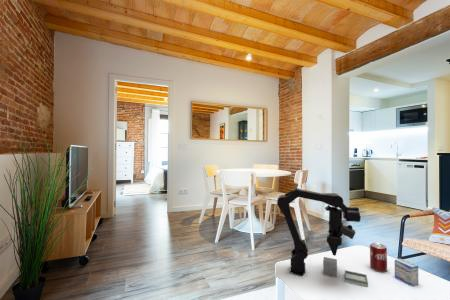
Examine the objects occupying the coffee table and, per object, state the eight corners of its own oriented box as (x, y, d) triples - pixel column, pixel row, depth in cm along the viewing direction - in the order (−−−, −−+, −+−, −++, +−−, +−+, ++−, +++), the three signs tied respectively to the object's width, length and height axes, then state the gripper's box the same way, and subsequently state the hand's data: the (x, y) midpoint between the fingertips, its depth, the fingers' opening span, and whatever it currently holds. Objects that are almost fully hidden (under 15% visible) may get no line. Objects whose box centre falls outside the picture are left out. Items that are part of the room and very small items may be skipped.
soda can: (390, 270, 114) (390, 247, 114) (380, 273, 112) (380, 249, 112) (376, 264, 121) (376, 241, 121) (366, 266, 118) (366, 244, 119)
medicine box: (394, 277, 109) (393, 259, 109) (400, 275, 110) (400, 257, 110) (412, 286, 101) (412, 267, 101) (419, 284, 103) (418, 265, 103)
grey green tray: (344, 281, 105) (344, 277, 105) (344, 274, 112) (344, 270, 112) (368, 287, 101) (367, 282, 101) (366, 278, 108) (366, 274, 108)
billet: (323, 274, 112) (323, 260, 112) (324, 270, 116) (323, 256, 116) (336, 277, 109) (336, 262, 109) (337, 273, 113) (336, 259, 113)
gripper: (354, 228, 98) (354, 264, 98) (353, 217, 115) (353, 248, 115) (326, 224, 104) (326, 257, 104) (329, 214, 120) (329, 243, 120)
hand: (334, 251), depth 110 cm, fingers open, 9 cm apart
